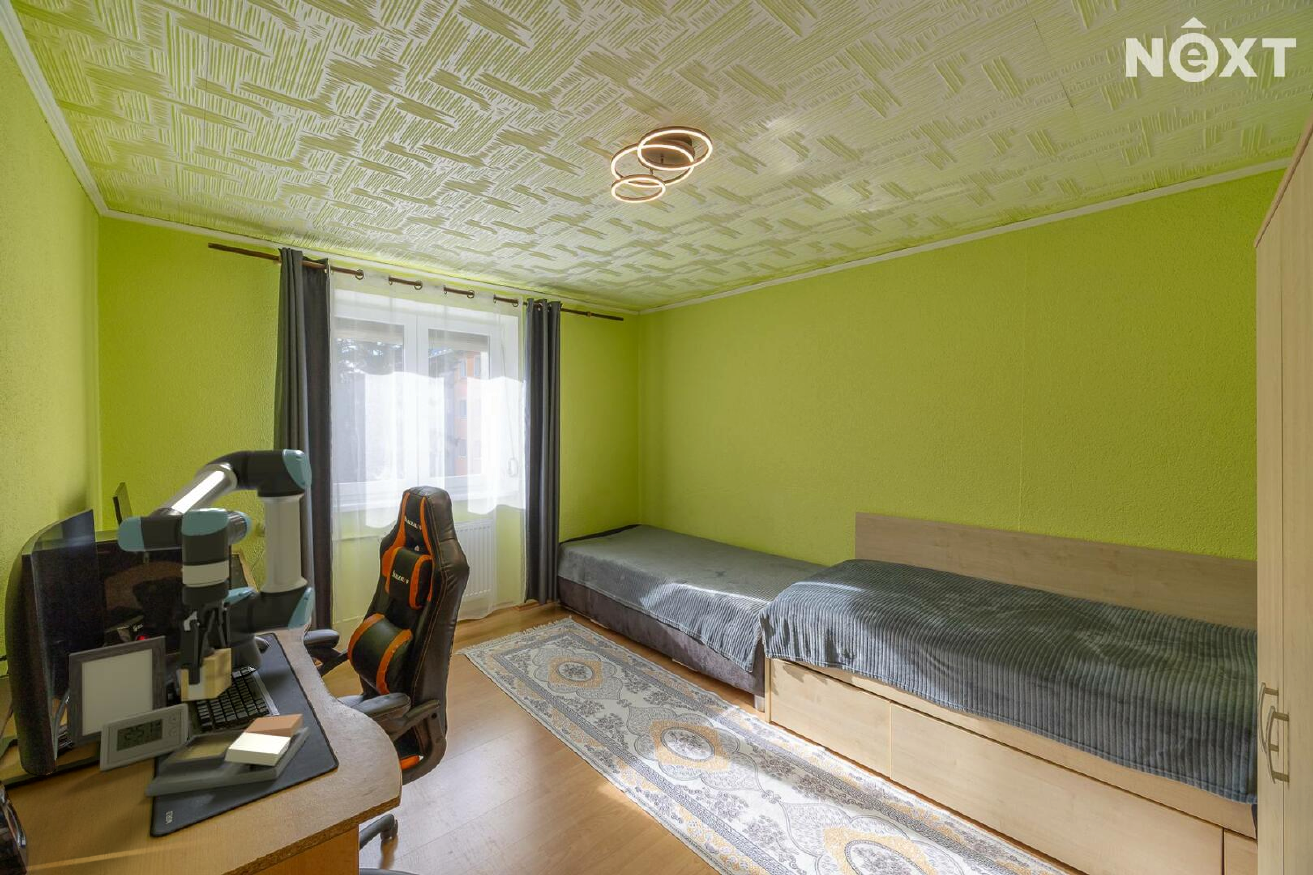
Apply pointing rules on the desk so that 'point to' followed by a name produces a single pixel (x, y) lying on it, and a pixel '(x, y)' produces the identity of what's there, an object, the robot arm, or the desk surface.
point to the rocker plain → (257, 749)
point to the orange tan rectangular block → (276, 725)
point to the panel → (215, 764)
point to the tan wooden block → (212, 673)
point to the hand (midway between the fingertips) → (206, 690)
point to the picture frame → (113, 686)
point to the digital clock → (143, 736)
